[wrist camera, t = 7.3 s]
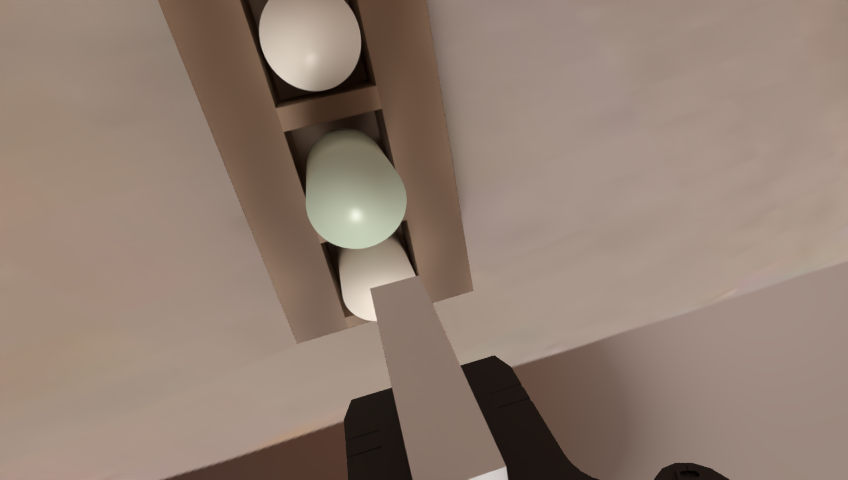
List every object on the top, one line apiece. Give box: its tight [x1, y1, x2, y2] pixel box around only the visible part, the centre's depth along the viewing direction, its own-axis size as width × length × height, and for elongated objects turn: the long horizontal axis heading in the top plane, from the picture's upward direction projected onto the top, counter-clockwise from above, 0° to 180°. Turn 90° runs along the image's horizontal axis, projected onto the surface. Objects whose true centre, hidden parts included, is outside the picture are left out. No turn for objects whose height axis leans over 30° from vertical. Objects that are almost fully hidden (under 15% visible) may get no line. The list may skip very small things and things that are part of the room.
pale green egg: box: [306, 128, 407, 249], centre depth 18 cm, size 4×4×5 cm
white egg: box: [259, 0, 361, 91], centre depth 18 cm, size 4×4×5 cm
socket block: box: [158, 0, 473, 344], centre depth 22 cm, size 10×17×4 cm, turn 11°
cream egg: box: [336, 232, 416, 321], centre depth 23 cm, size 4×4×5 cm
